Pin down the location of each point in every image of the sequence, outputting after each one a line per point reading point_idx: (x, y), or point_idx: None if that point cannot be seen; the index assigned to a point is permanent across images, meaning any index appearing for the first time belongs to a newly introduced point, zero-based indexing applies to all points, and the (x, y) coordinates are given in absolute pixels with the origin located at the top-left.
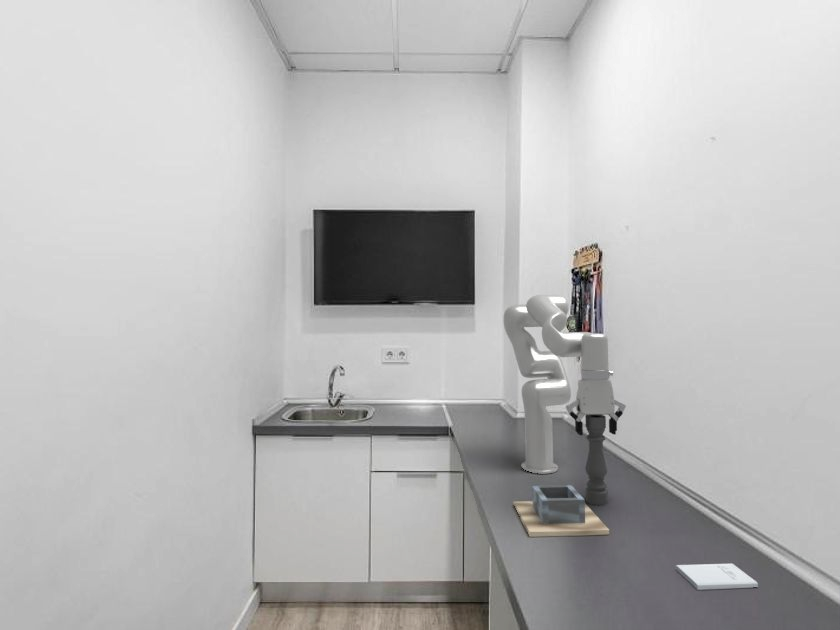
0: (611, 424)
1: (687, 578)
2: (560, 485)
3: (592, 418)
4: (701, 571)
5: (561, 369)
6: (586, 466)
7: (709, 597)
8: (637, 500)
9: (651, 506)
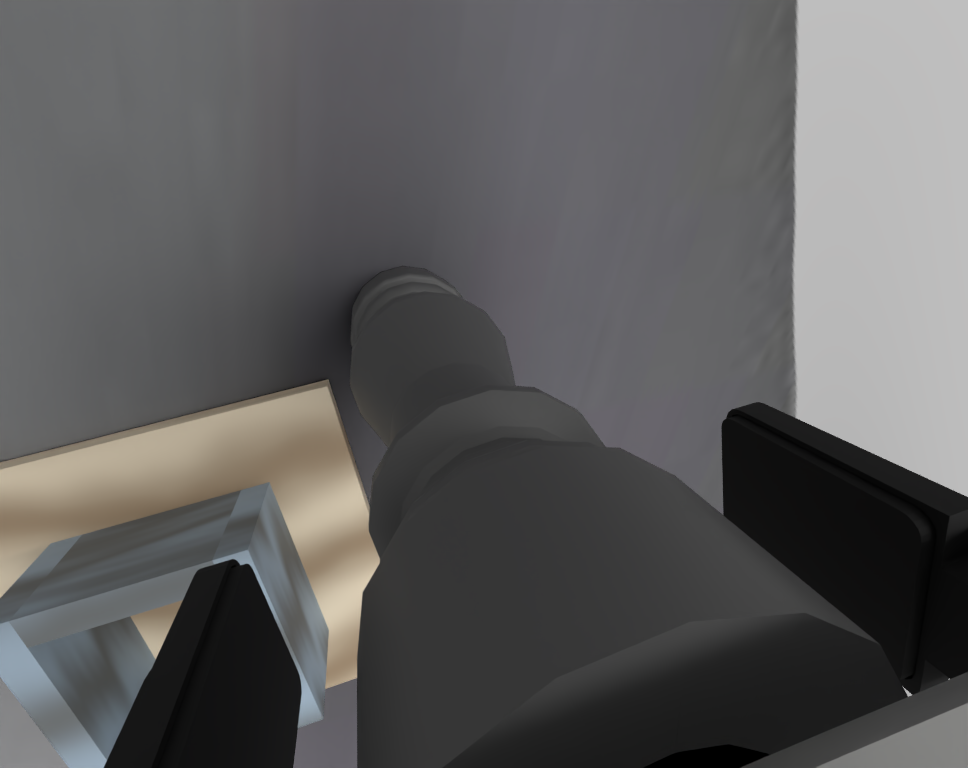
0: (834, 581)
1: None
2: (174, 573)
3: None
4: None
5: None
6: (357, 401)
7: None
8: (606, 279)
9: (640, 345)
